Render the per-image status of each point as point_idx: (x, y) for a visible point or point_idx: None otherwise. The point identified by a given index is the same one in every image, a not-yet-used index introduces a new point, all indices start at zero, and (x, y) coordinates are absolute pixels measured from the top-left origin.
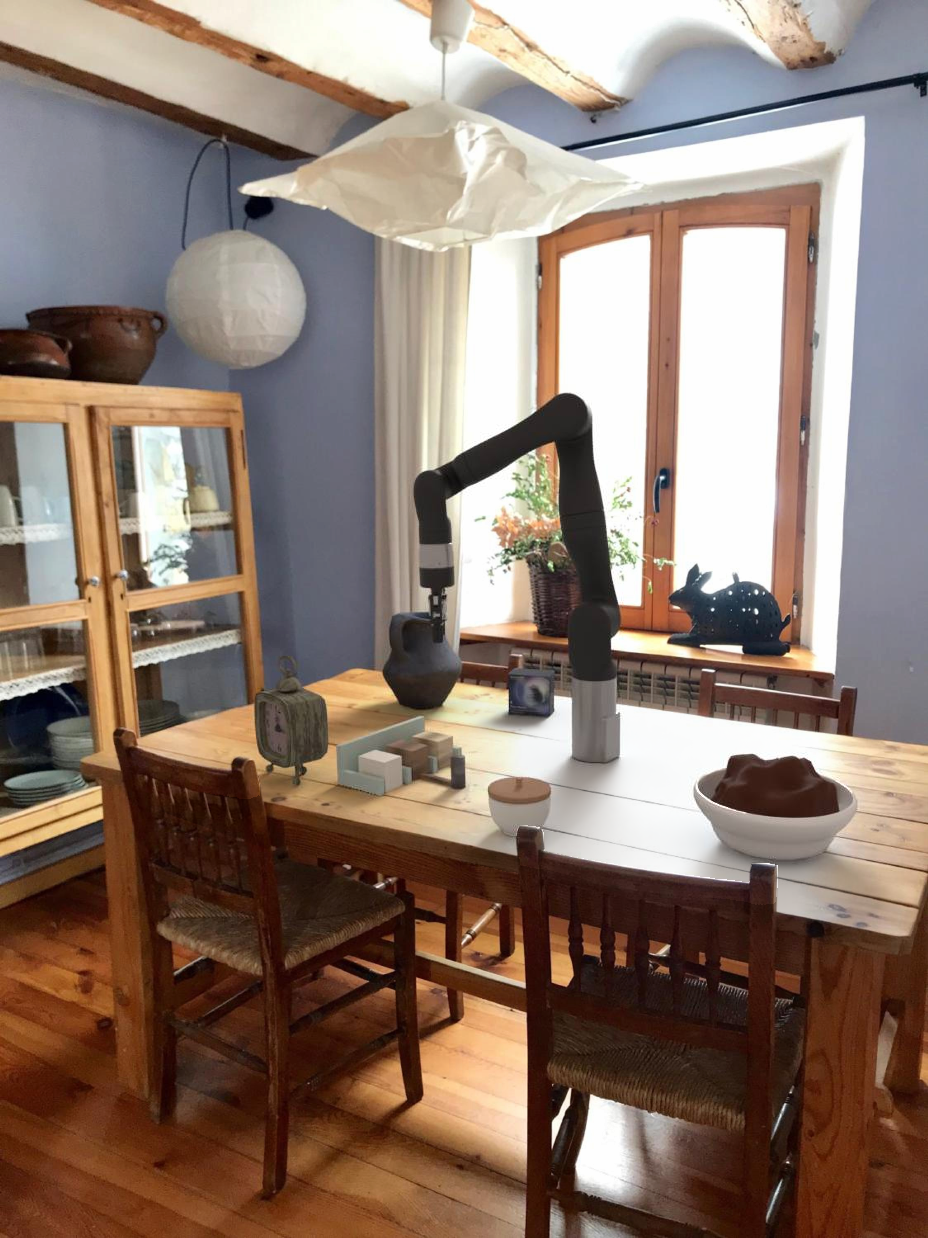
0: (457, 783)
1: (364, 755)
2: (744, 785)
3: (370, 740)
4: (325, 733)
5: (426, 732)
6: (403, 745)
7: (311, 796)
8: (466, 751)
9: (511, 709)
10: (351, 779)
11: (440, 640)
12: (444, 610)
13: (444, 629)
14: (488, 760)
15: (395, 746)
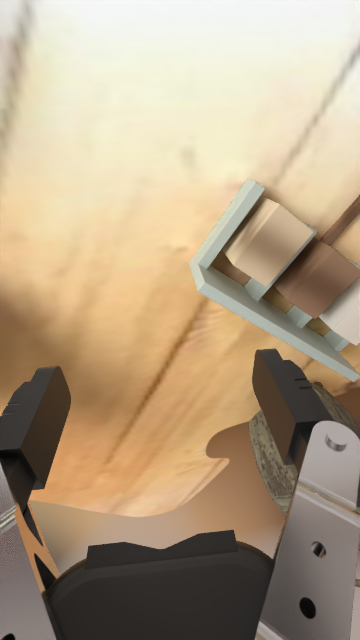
0: None
1: (356, 338)
2: None
3: (314, 345)
4: (336, 406)
5: (244, 264)
6: (323, 292)
7: (354, 361)
8: (185, 174)
9: None
10: None
11: (290, 363)
12: (357, 547)
13: (47, 390)
14: (247, 115)
15: (326, 304)
